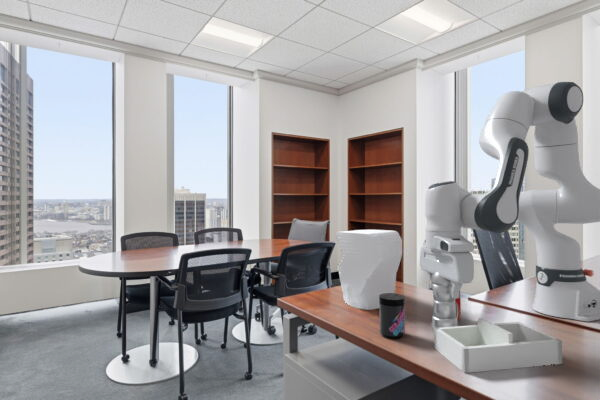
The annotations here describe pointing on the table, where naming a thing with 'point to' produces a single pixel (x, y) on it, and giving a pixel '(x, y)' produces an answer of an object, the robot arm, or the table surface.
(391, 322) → the supplement container
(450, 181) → the robot arm
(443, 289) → the plastic bottle
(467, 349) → the divided tray
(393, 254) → the white faceted vase
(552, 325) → the table surface
